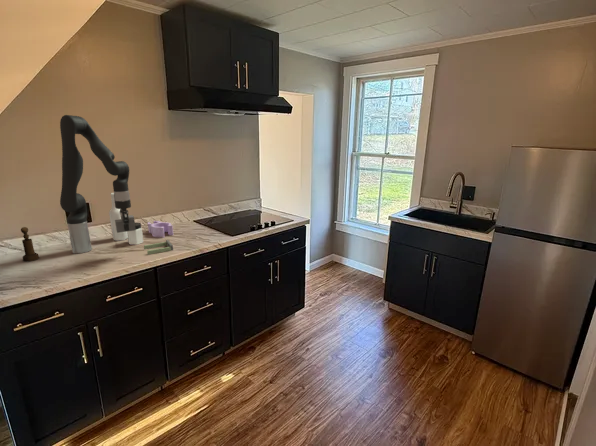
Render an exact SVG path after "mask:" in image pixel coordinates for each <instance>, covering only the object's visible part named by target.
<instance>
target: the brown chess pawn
mask: <svg viewBox="0 0 596 446" xmlns="http://www.w3.org/2000/svg"><path fill="white" fill-rule="evenodd" d="M20 232H21V233H22V234H23V235H22V237H23V238H24V239H22V240H21V241H22V247H23V250H24V253H25V254H24V255H23V256H22V261H23V262H32V261H36V260H38V259H40V256H39V253H37V252H35V248H34V244H33V239H32V238H30V237H29V236H30V235H29V234H28V232H29V229H28V227H26V226H23V227H21V228H20Z"/></svg>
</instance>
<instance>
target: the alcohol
mask: <svg viewBox="0 0 596 446" xmlns="http://www.w3.org/2000/svg"><path fill="white" fill-rule="evenodd" d="M110 199H111V207H110V210H109V212H108V216H109V222H110V227H111V235H112V240H114V241H116V242H118V241H119V242H120V241H125V240H128V236H127V232H119V233H117V231H116V225H115V220H118V219H121V216H120V209H117V208H115V201H114V192H111V193H110Z"/></svg>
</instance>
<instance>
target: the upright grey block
mask: <svg viewBox="0 0 596 446" xmlns="http://www.w3.org/2000/svg"><path fill="white" fill-rule="evenodd" d="M128 216H129V230H128V231H134V230H136V229H135V223H136V222H135V217H134V214H132V215H130V214H128ZM126 221H127V220H125V222H126ZM115 225H116V231H117V233H119V232H127V231H125V230H124V224H123V220H122V219H118V220H115Z"/></svg>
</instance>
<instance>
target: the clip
mask: <svg viewBox="0 0 596 446" xmlns="http://www.w3.org/2000/svg"><path fill="white" fill-rule="evenodd" d="M173 226H174V225H173V224H172V223H171V222H167V221H165V222H164V221H160V220H153V223H151V222H150V221H148V222H147V230H148V234H151V235H152V237H153V238H162V239H163V238H164V239H165V233H168V236H174V228H173Z"/></svg>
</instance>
